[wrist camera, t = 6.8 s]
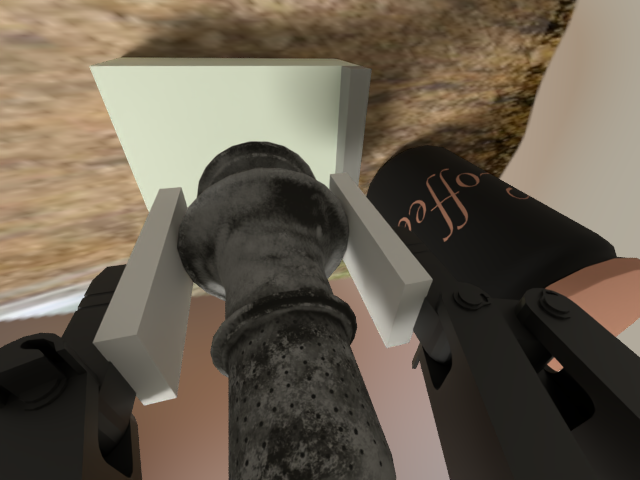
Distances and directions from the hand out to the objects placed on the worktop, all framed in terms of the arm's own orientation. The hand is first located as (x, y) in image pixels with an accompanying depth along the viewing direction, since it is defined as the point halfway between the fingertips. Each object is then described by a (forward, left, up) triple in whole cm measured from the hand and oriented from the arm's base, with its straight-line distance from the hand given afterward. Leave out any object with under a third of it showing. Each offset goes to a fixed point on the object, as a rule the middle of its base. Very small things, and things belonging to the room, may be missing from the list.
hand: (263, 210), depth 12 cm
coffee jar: (+17, +3, -13) cm, 21 cm away
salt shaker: (0, 0, -1) cm, 1 cm away
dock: (0, 0, -13) cm, 13 cm away
